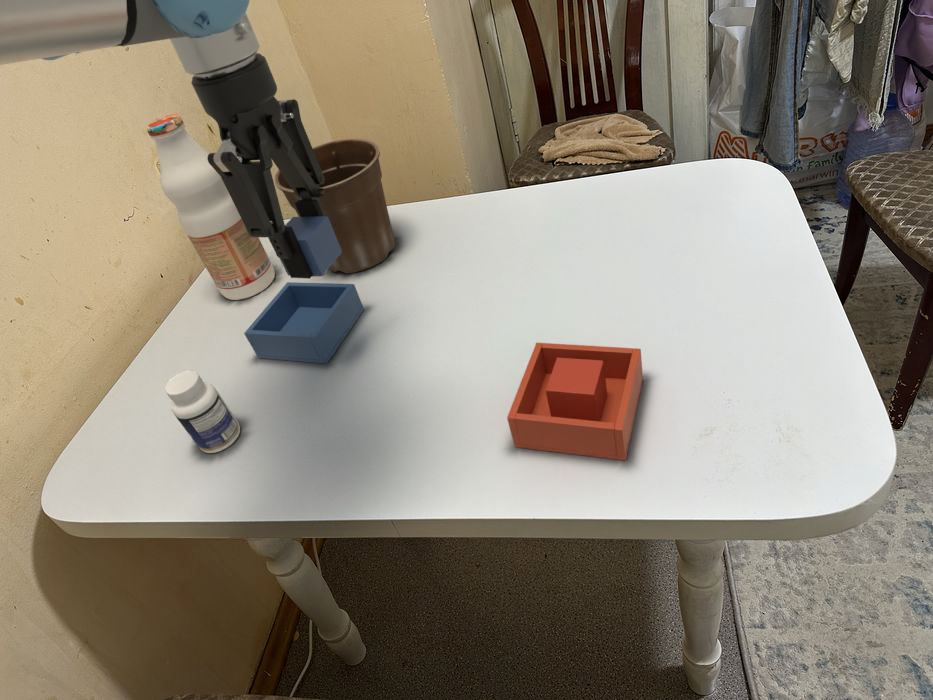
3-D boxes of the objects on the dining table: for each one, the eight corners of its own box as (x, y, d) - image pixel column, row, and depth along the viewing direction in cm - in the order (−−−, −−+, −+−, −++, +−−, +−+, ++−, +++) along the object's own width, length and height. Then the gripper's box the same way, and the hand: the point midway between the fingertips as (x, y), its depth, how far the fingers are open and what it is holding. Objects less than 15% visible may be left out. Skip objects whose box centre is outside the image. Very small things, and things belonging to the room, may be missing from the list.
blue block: (287, 275, 78) (270, 239, 75) (308, 251, 81) (293, 216, 78) (322, 276, 76) (306, 240, 73) (342, 252, 79) (327, 215, 76)
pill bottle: (196, 435, 83) (155, 380, 77) (236, 414, 84) (200, 358, 78) (203, 461, 79) (161, 405, 73) (245, 440, 80) (207, 383, 74)
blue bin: (257, 358, 93) (243, 333, 90) (299, 306, 100) (287, 282, 97) (327, 363, 88) (314, 337, 85) (364, 309, 96) (354, 283, 93)
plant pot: (425, 251, 104) (395, 156, 94) (332, 296, 100) (291, 202, 90) (385, 216, 116) (355, 129, 106) (301, 255, 112) (262, 168, 102)
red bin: (514, 447, 70) (506, 417, 67) (542, 371, 78) (536, 342, 75) (625, 460, 65) (622, 430, 62) (643, 379, 73) (640, 348, 70)
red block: (552, 423, 70) (545, 390, 67) (562, 390, 74) (556, 357, 71) (598, 428, 68) (593, 394, 65) (607, 393, 72) (603, 360, 69)
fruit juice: (225, 309, 105) (129, 143, 87) (218, 282, 112) (128, 123, 94) (281, 285, 106) (198, 117, 88) (271, 260, 113) (192, 100, 96)
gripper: (198, 99, 56) (301, 311, 71) (304, 27, 68) (374, 221, 83) (135, 106, 59) (247, 307, 74) (247, 35, 71) (324, 221, 86)
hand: (314, 261), depth 79 cm, fingers closed on blue block, 5 cm apart
